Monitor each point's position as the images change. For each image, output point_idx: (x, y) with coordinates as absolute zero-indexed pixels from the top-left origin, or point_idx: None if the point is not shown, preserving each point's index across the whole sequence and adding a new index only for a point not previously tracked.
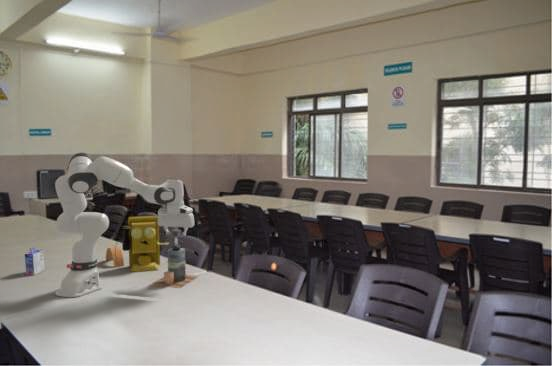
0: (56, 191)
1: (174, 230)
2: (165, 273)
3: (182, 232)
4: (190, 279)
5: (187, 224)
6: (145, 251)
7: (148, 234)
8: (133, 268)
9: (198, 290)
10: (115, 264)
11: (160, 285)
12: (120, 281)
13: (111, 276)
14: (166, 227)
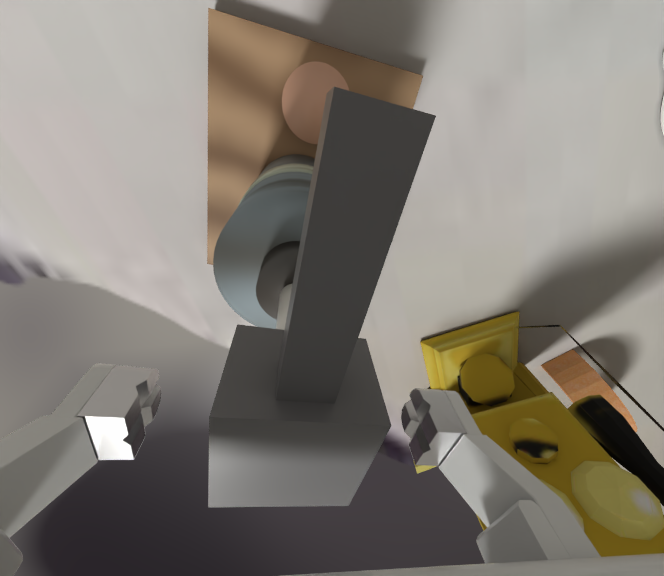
0: None
1: (323, 466)
2: (333, 77)
3: (111, 414)
4: (226, 202)
5: None
6: (502, 410)
7: None
8: (514, 325)
9: (106, 35)
10: (576, 359)
11: (354, 70)
12: (560, 187)
13: (591, 252)
14: (518, 525)
